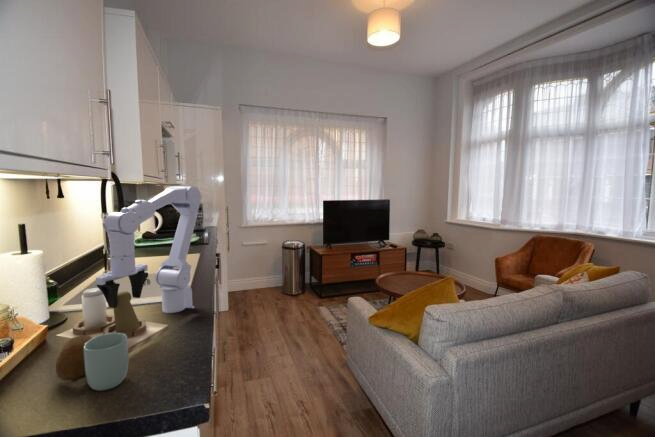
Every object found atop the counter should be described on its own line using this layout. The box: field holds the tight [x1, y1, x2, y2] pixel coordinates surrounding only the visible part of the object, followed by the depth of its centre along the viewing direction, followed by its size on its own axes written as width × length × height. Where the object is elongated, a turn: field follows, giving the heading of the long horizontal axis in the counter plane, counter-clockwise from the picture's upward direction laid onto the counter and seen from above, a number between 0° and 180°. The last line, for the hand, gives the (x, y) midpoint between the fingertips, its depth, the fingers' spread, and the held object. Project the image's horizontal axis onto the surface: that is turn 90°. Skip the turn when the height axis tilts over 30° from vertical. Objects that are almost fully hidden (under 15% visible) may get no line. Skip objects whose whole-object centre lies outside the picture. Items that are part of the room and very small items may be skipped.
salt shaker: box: [81, 287, 108, 329], centre depth 90 cm, size 6×6×11 cm
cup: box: [83, 333, 130, 392], centre depth 67 cm, size 8×8×10 cm
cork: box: [113, 291, 141, 333], centre depth 88 cm, size 6×6×11 cm
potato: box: [55, 336, 93, 382], centre depth 71 cm, size 8×12×9 cm
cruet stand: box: [55, 314, 170, 354], centre depth 89 cm, size 14×25×3 cm, turn 76°
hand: (125, 302), depth 87 cm, fingers open, 7 cm apart
